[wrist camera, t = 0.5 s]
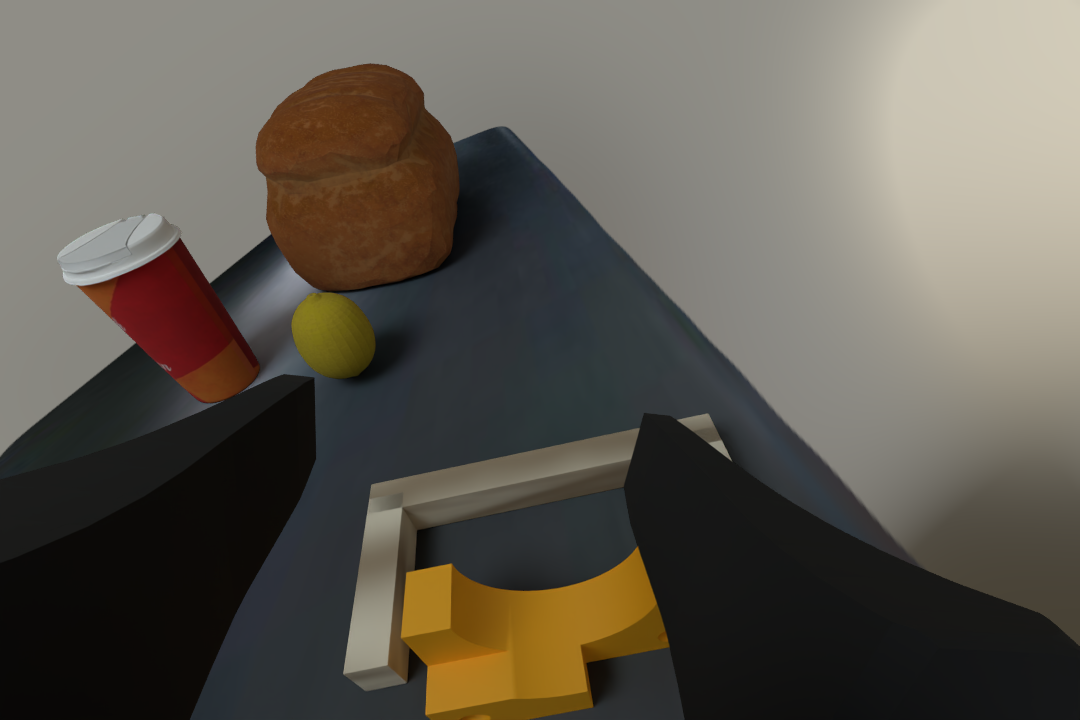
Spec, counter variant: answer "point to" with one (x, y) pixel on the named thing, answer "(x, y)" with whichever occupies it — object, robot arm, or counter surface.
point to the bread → (359, 179)
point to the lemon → (333, 335)
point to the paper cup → (162, 303)
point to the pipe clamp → (523, 639)
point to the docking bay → (457, 498)
